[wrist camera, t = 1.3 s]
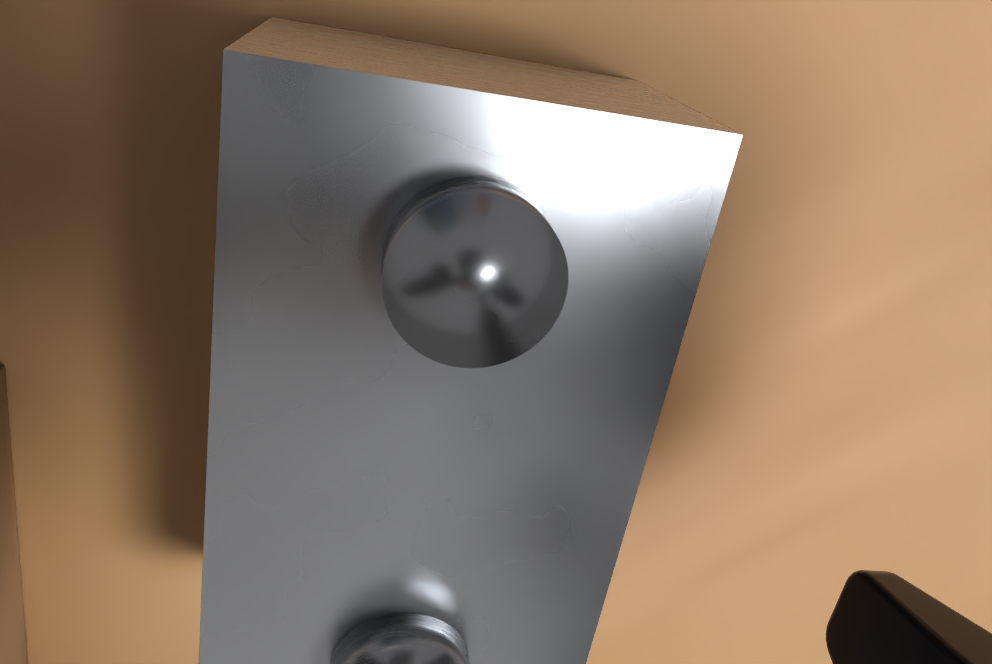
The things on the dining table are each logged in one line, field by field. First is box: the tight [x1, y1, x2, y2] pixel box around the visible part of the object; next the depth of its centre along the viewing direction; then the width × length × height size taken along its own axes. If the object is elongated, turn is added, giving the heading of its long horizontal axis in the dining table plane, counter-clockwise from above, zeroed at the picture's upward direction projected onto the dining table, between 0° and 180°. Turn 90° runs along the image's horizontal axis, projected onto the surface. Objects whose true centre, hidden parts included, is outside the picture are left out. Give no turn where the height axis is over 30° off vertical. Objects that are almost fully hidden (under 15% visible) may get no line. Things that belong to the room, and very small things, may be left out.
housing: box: [199, 17, 743, 664], centre depth 11 cm, size 9×5×5 cm, turn 170°
